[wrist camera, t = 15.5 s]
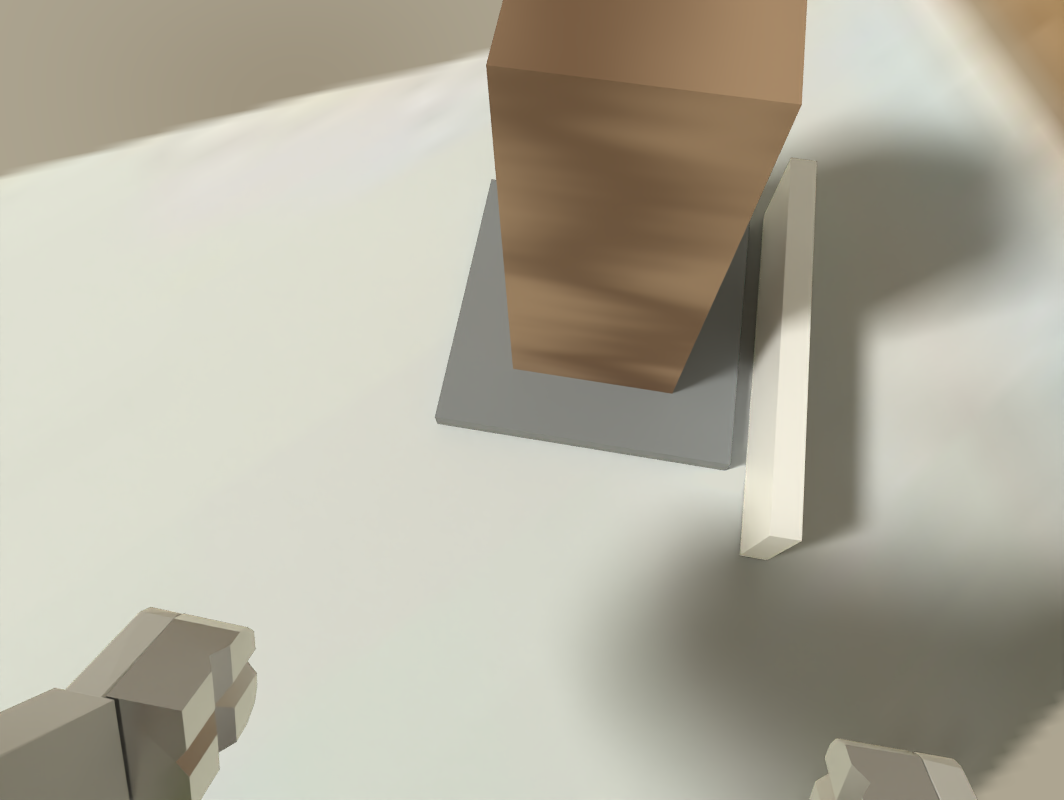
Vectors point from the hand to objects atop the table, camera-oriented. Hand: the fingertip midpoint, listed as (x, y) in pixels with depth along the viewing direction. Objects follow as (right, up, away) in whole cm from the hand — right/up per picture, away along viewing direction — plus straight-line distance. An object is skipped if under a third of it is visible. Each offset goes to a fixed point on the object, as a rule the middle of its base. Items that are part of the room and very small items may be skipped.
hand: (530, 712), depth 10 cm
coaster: (+2, +7, +14) cm, 16 cm away
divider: (+7, +5, +13) cm, 16 cm away
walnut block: (+2, +7, +13) cm, 15 cm away
